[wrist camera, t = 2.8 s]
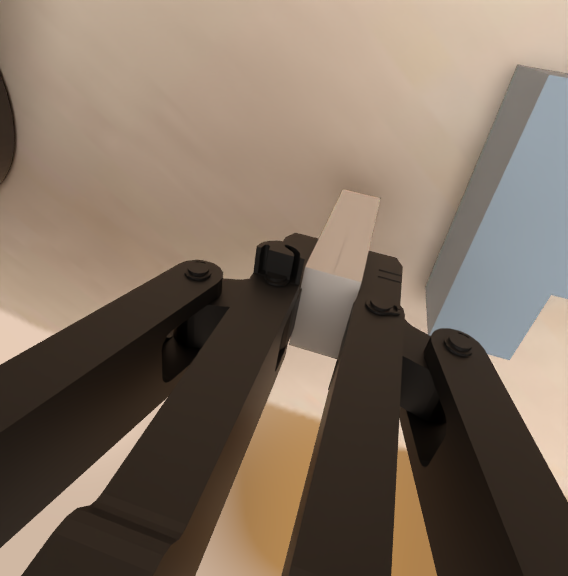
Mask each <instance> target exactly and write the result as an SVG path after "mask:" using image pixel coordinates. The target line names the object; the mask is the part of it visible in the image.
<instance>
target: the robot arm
mask: <svg viewBox="0 0 568 576" xmlns="http://www.w3.org/2000/svg"><path fill="white" fill-rule="evenodd" d="M13 152H14V126H13V118H12V113H11V108H10V104H9V100H8V96H7V93H6V90H5V87H4V84H3V81H2V79H1V76H0V184H1V182H2V181H3V180H4V178H5V177H6V175H7V173H8V171H9V168H10V165H11V162H12V158H13ZM380 199H381V198H378V197H374V196H370V195H366V194H361V193H357V192H353V191H349V190H345V189H343V190H342V192H341V194H340V196H339V198H338V200H337V203H336V205H335V207H334V209H333V211H332V213H331V215H330V217H329V219H328V221H327V223H326V225H325V227H324V229H323V231H322V233H321V235H320V237H319V239H317V238H313V237H310V236H306V235H302V234H298V233H294V234H292V235H290V236H287V237H286V238H285V239H284V241H267V242H263V243H261V244H259V245H258V246H257V249H256V257H255V265H254V273H253V274H252V276H251V277H250V278H249V279H244V280H235V279H223V272H222V270H221V268H220V267H218V266H217V265H215V264H214V263H211V262H207V261H203V260H192V261H186V262H183V263H180V264H178V265H176V266H175V267H173V268H171V269H169V270H167V271H166V272H164V273H162V274H160V275H159V276H157V277H155V278H153V279H152V280H150V281H148V282H146V283H144V284H143V285H141V286H139V287H137V288H136V289H134V290H132V291H130V292H129V293H127V294H125V295H123V296H121V297H120V298H118V299H116V300H114V301H113V302H111V303H109V304H107V305H105V306H104V307H102V308H100V309H98V310H97V311H95V312H93V313H91V314H90V315H88V316H86V317H84V318H82V319H81V320H79V321H77V322H75V323H74V324H72V325H70V326H68V327H67V328H65V329H63V330H61V331H59V332H58V333H56V334H54V335H52V336H51V337H49V338H47V339H46V340H44V341H42V342H40V343H38V344H37V345H35V346H33V347H31V348H29V349H28V350H26V351H24V352H22V353H20V354H19V355H17V356H15V357H13V358H12V359H10V360H8V361H6V362H5V363H3V364H1V365H0V548H1V547H2V546H3V545H4V544H5V543H6V542H7V541H9V540H10V539H11V538H12V537H13V536H14V535H15V534H16V533H17V532H19V531H20V530H21V529H22V528H23V527H24V526H25V525H26V524H27V523H29V522H30V521H31V520H32V519H33V518H34V517H35V516H36V515H37V514H38V513H40V512H41V511H42V510H43V509H44V508H45V507H46V506H47V505H48V504H50V503H51V502H52V501H53V500H54V499H55V498H56V497H57V496H58V495H60V494H61V493H62V492H63V491H64V490H65V489H66V488H67V487H68V486H70V484H72V483H73V482H74V481H75V480H76V479H77V478H78V477H79V476H81V475H82V474H83V473H84V472H85V471H86V470H87V469H88V468H90V467H91V466H92V465H93V464H94V463H95V462H96V461H97V460H98V459H99V458H100V457H102V456H103V455H104V454H105V453H106V452H107V451H108V450H109V449H110V448H112V447H113V446H114V445H115V444H116V443H117V442H118V441H119V440H121V438H123V437H124V436H125V435H126V434H127V433H128V432H129V431H131V430H132V429H133V428H134V427H135V426H136V425H137V424H138V423H139V422H141V421H142V420H143V419H144V418H145V417H146V416H147V415H148V414H149V413H151V412H152V411H153V410H154V409H155V408H156V407H157V406H158V405H159V404H160V403H162V402H163V401H164V400H165V399H166V398H167V397H168V398H167V399H166V401H165V402H164V404H163V405H162V406H161V408H160V409H159V411H158V412H157V414H156V415H155V417H154V418H153V420H152V421H151V422H150V424H149V425H148V427H147V429H146V430H145V431H144V433H143V434H142V436H141V437H140V439H139V440H138V441H137V443H136V444H135V446H134V447H133V449H132V450H131V452H130V453H129V455H128V456H127V458H126V459H125V460H124V462H123V463H122V465H121V466H120V468H119V469H118V471H117V472H116V474H115V475H114V476H113V478H112V479H111V481H110V482H109V484H108V485H107V487H106V488H105V490H104V491H103V492H102V494H101V495H100V496H99V498H98V499H97V500H96V501H95V502H93V503H92V504H91V505H90V506H84V507H80V508H77V509H76V510H74V511H73V512H72V513H71V514H69V515H68V516H67V517H66V518H65V519H64V520H63V521H62V522H61V524H60V525H59V526H58V527H57V528H56V529H55V531H54V532H53V533H52V535H51V536H50V537H49V538H48V540H47V541H46V543H45V544H44V546H43V547H42V548H41V549H40V551H39V552H38V554H37V555H36V556H35V558H34V559H33V560H32V562H31V563H30V564H29V566H28V567H27V569H26V570H25V571H24V573H23V574H22V575H21V576H195V575H196V572H197V570H198V568H199V565H200V563H201V560H202V558H203V555H204V553H205V550H206V548H207V546H208V543H209V541H210V538H211V536H212V533H213V531H214V528H215V526H216V523H217V521H218V519H219V516H220V514H221V511H222V509H223V507H224V504H225V501H226V499H227V497H228V494H229V492H230V489H231V487H232V485H233V482H234V479H235V477H236V475H237V472H238V470H239V467H240V465H241V462H242V460H243V457H244V455H245V453H246V450H247V448H248V445H249V443H250V441H251V438H252V436H253V433H254V431H255V428H256V426H257V424H258V421H259V418H260V416H261V413H262V411H263V409H264V406H265V404H266V402H267V399H268V397H269V394H270V392H271V389H272V387H273V384H274V382H275V380H276V377H277V375H278V372H279V370H280V367H281V365H282V362H283V360H284V358H285V354H286V349H287V344H288V341H289V339H290V343H289V345H292V346H295V347H299V348H302V349H305V350H309V351H312V352H315V353H318V354H322V355H325V356H328V357H332V358H335V359H337V362H336V365H335V368H334V372H333V375H332V378H331V382H330V385H329V388H328V390H329V391H328V395H327V399H326V403H325V407H324V411H323V415H322V419H321V423H320V427H319V431H318V434H317V439H316V443H315V446H314V450H313V454H312V458H311V462H310V466H309V470H308V474H307V478H306V481H305V486H304V489H303V493H302V497H301V501H300V505H299V509H298V513H297V517H296V521H295V525H294V529H293V532H292V536H291V541H290V544H289V548H288V552H287V556H286V560H285V564H284V568H283V572H282V576H391V567H392V547H393V528H394V510H395V509H394V508H395V490H396V471H397V452H398V433H399V418H400V422H401V427H402V431H403V435H404V439H405V443H406V447H407V451H408V456H409V460H410V464H411V468H412V472H413V476H414V481H415V485H416V489H417V493H418V497H419V501H420V505H421V509H422V514H423V518H424V522H425V526H426V531H427V535H428V539H429V543H430V547H431V551H432V555H433V560H434V564H435V568H436V572H437V576H568V502H567V500H566V498H565V496H564V494H563V493H562V491H561V489H560V487H559V485H558V483H557V482H556V480H555V478H554V476H553V474H552V472H551V470H550V469H549V467H548V465H547V463H546V461H545V459H544V458H543V456H542V454H541V452H540V450H539V448H538V447H537V445H536V443H535V441H534V439H533V437H532V436H531V434H530V432H529V430H528V428H527V426H526V425H525V423H524V421H523V419H522V417H521V415H520V414H519V412H518V410H517V408H516V406H515V404H514V403H513V401H512V399H511V397H510V395H509V393H508V392H507V390H506V388H505V386H504V384H503V382H502V381H501V379H500V377H499V375H498V373H497V371H496V370H495V368H494V366H493V364H492V362H491V360H490V359H489V357H488V355H487V353H486V351H485V349H484V348H483V347H482V346H481V344H480V343H479V342H478V341H476V340H475V339H474V338H473V337H471V336H470V335H468V334H466V333H464V332H461V331H459V330H454V329H451V328H440V329H437V330H435V331H434V332H433V333H432V335H431V336H430V335H428V334H426V333H424V332H422V331H420V330H418V329H416V328H415V327H413V326H412V325H410V324H409V323H408V322H407V321H406V320H405V319H404V317H405V314H404V310H403V308H402V307H401V306H400V299H401V282H402V268H403V267H402V265H401V264H400V262H399V261H398V259H397V258H395V257H391V256H387V255H383V254H379V253H375V252H371V251H369V247H370V243H371V238H372V234H373V230H374V225H375V221H376V217H377V212H378V208H379V203H380ZM290 337H291V338H290Z"/></svg>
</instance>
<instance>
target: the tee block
mask: <svg viewBox="0 0 568 576" xmlns="http://www.w3.org/2000/svg"><path fill="white" fill-rule="evenodd" d="M425 290H426V308H427V326H428V335H430V336H431V335H432V333H433V332H434V331H435V330H437V329H440V328H451V329H454V330H459V331H461V332H464V333H466V334H468V335H470V336H471V337H473V338H474V339H475V340H476V341H478V342H479V343H480V344H481V346H482V347H483V348H484V349H485V351H486V353H487V354H489V355H493V356H496V357H500V358H503V359H507V360H510V359H511V357H512V356H513V354H514V352H515V351H516V349H517V348H518V346H519V345H520V343H521V341H522V340H523V338H524V337H525V335H526V334H527V332H528V330H529V329H530V327H531V326H532V324H533V323H534V321H535V319H536V318H537V316H538V315H539V313H540V312H541V310H542V308H543V307H544V305H545V304H546V302H547V301H548V299H549V298H550V296H551V295H554V296H558V297H562V298H566V299H568V74H566V73H561V72H555V71H550V70H544V69H539V68H533V67H528V66H522V65H517V68H516V70H515V72H514V75H513V77H512V80H511V82H510V84H509V87H508V89H507V92H506V94H505V96H504V99H503V101H502V104H501V106H500V108H499V111H498V113H497V116H496V118H495V120H494V123H493V125H492V128H491V130H490V132H489V135H488V137H487V140H486V142H485V144H484V147H483V149H482V152H481V154H480V156H479V159H478V161H477V164H476V166H475V169H474V171H473V173H472V176H471V178H470V181H469V183H468V185H467V188H466V190H465V193H464V195H463V197H462V200H461V202H460V205H459V207H458V209H457V212H456V214H455V217H454V219H453V221H452V224H451V226H450V229H449V231H448V233H447V236H446V238H445V241H444V243H443V245H442V248H441V250H440V253H439V255H438V257H437V260H436V262H435V265H434V267H433V270H432V272H431V274H430V277H429V279H428V282H427V284H426V286H425Z"/></svg>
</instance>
